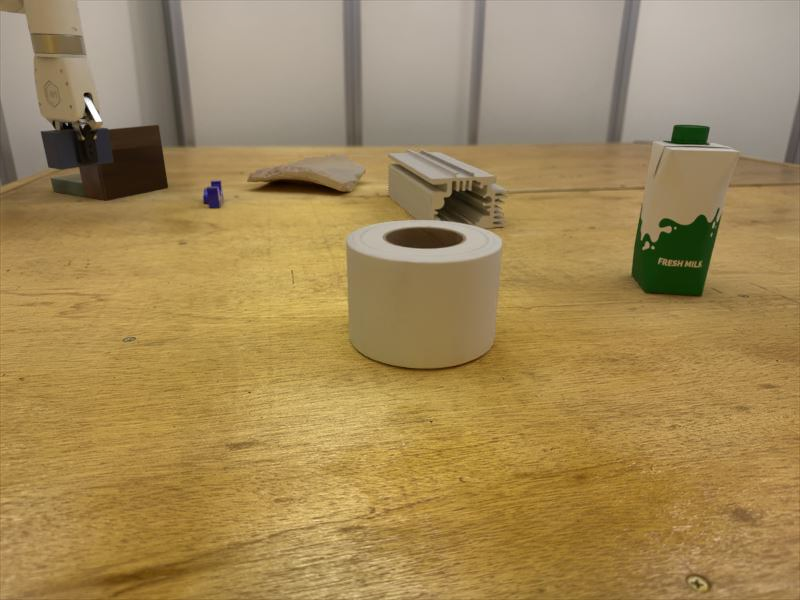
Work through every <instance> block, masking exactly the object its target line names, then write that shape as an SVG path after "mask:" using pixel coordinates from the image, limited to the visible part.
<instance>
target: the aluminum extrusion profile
mask: <svg viewBox="0 0 800 600" xmlns="http://www.w3.org/2000/svg"><path fill="white" fill-rule="evenodd" d="M418 150H419V151H420V152H416V151H414V150H412V149H409V148H407V149H406V151H405V152H395V153H394V152H392V153H391V152H390V153H389V152H388V153H387V158H388V159H389V160H391V161H393V162H395V163H389V164H388V165H387V168H388V169H387V170H388V171H387V172H388V173H387V174H388V176H387V177H388V178H387V180H388V181H387V191H388V192H387V193H388V194H387V196H388V197H389V198H390V199H392V200H393V201H394V202H395V203H396V204H398V206H400V207H401V208H402V209H403V210H404V211H406V212H407V213H408V214H409V215H410V216H411V217H412V218H413V219H414V220H434V221H447V222H456V223H462V224H468V225H472V226H476V227H480V228H483V229H486V230H487V229H493V228H494V229H495V228H501V227H506V226H507V225H506V223H504V222H506V221H507V218H506V217H504V216H505V213H504V212H503V211H502V210H503V207H501V206H499V205H505V204H506V202H505V201H503V200H504V199H508V198H509V195H506V194H505V193H509V192H510V191H509V189H507V188H504V187H503V186H500V185H498V184H497V176H496V175H494V174H491V173H489V172H486V171H484V170H482V169H480V168H477V167H475V166H473V165H470V164H469V163H466V162H463V161H461V160H458V159H456V158H454V157H452V156H449V155H448V154H445V153H442V152H440V151H432V152H431V151H427V150H425V149H422V148H419V149H418ZM502 199H503V200H502Z"/></svg>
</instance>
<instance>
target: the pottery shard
mask: <svg viewBox="0 0 800 600" xmlns="http://www.w3.org/2000/svg"><path fill="white" fill-rule="evenodd" d="M366 173H367V172H366V167H365V166H364V165H362V164H360V163H358V162H355V161H353V160H351V159H350V157H349V156H348V155H345V154H334V153H333V154H332V153H331V154H330V155H326V156H325V157H322V156H309V157H305V158H304V159H300V160H297V161H292V162H288V163H285V164H280V165H278V166H270V167H262V168H258V169H256V170H255V171H254V172H253V173H249V176H248V177H247V179H246V182H247V183H274V182H279V181H285V180H294V181H295V180H297V181H306V182H310V183H314V184H317V185H322V186H325V187H328V188H331V189H333V190H337V191H339V192H352V191H353V190H354V188H355V187H356V186H357V184H358V183H359V182H360V181H361V179H362V177H363V176H364V175H365V174H366Z"/></svg>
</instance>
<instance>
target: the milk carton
mask: <svg viewBox="0 0 800 600" xmlns="http://www.w3.org/2000/svg"><path fill="white" fill-rule="evenodd" d="M710 130H711V127H710V126H707V125H698V124H675V125H673V127H672V133H671V138H670V140H662V141H660V140H659V141H658V140H654V141H652V144H651V151H650V156H649V163H648V169H647V175H646V180H645V186H644V190H643V196H642V202H641V206H640V212H639V218H638V223H637V229H636V234H635V240H634V245H633V247H634V248H633V254H632V263H631V264H632V265H631V273H630V274H631V276H632V277H633V278H634V279H635V281H636V282H637V283H638V285H639V286H640V287H641V289H642V291H643V292H644V293H650V294H663V295H664V294H665V295H666V294H667V295H668V294H669V295H681V296H683V295H684V296H700V297H702V296H703V293H704V289H705V285H706V281H707V276H708V273H709V269H710V264H711V260H712V257H713V251H714V247H715V244H716V240H717V236H718V231H719V228H720V224H721V220H722V219H721V218H722V216H723V211H724V207H725V203H726V198H727V195H728V191H729V187H730V183H731V180H732V177H733V175H734V171H735V169H736V166H737V162H738V161H739V158H740V155H741V153H742V151H740V150H736V149H734V148H733V147H732V146H728V145H723V144H720V143H716V142H708V140H709V134H710Z"/></svg>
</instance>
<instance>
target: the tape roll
mask: <svg viewBox="0 0 800 600" xmlns="http://www.w3.org/2000/svg"><path fill="white" fill-rule="evenodd" d="M345 248H346V253H345V254H346V277H347V278H346V280H347V282H346V283H347V308H348V309H347V310H348V315H347V316H348V337H349V341H350V343H351V345H352V346H353V347H354V348H355V349H356V351H358V352H360V353H361V354H362V355H363V356H366V357H367V358H369V359H371V360H374V361H377V362H379V363H382V364H385V365H386V364H387V365H390V366H395V367H403V368H409V369H442V368H449V367H455V366H458V365H463V364H465V363H468V362H472V361H474V360H476V359H479V358H480V357H482V356H484V355H485V354H487V353H488V351H490V349H491V348H492V346H494V344H495V340H496V326H497V317H498V316H497V315H498V314H497V313H498V304H499V303H498V302H499V291H500V290H499V289H500V279H501V277H500V276H501V267H502V265H501V264H502V255H503V240H502V238H501V237H500V236H499V235H497V234H496V233H494V231H491V230H489V229H487V228H486V229H483V228H480V227H476V226H472V225H468V224H462V223H456V222H447V221H434V220H416V219H408V220H407V219H406V220H390V221H384V222H378V223H374V224H369V225H365V226H363V227H360V228H357V229H355V230H353V231H352V232H350V233H349V234H348V235H347V237H346V239H345Z"/></svg>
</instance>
